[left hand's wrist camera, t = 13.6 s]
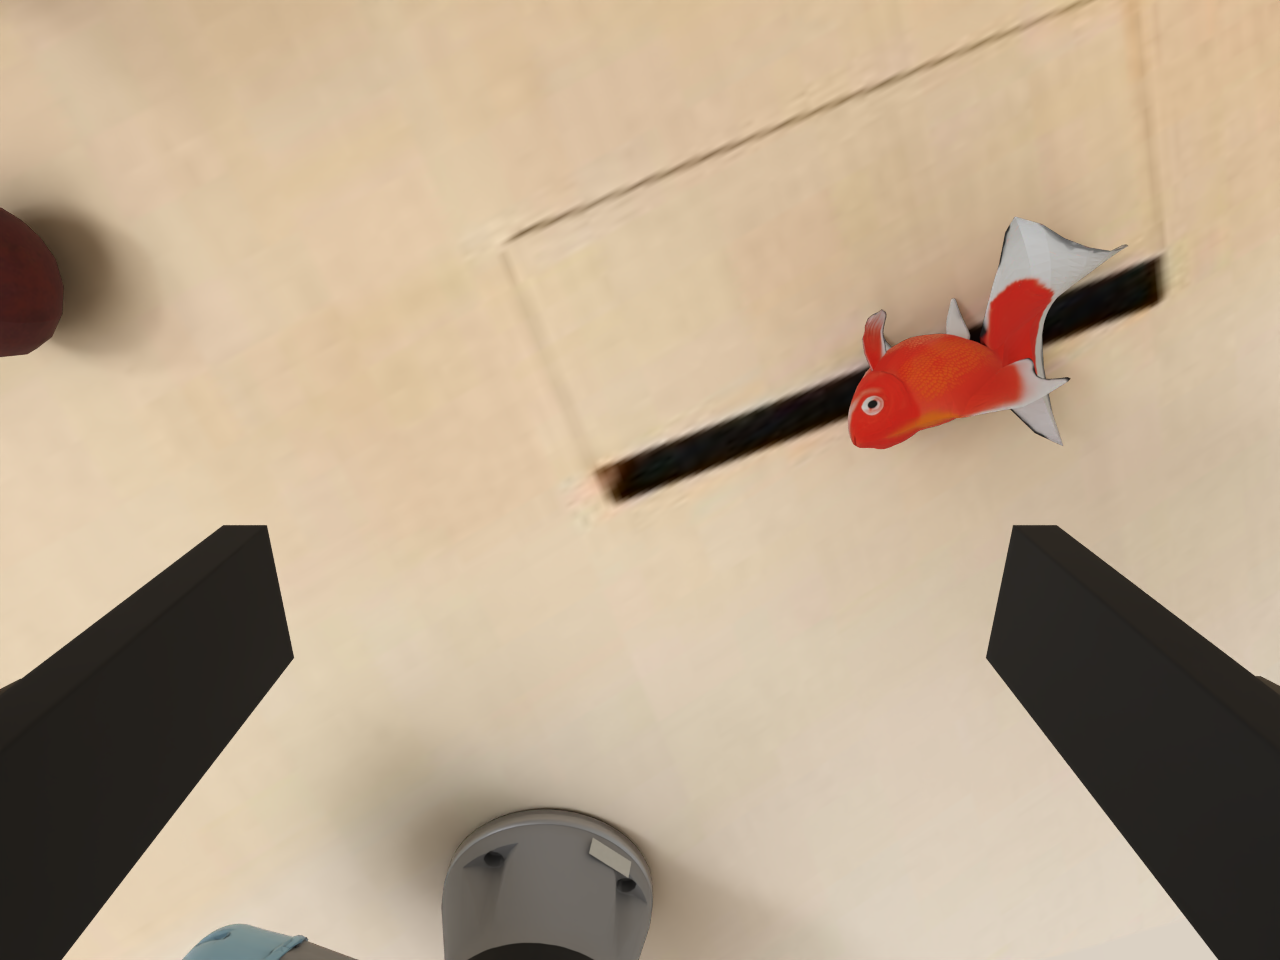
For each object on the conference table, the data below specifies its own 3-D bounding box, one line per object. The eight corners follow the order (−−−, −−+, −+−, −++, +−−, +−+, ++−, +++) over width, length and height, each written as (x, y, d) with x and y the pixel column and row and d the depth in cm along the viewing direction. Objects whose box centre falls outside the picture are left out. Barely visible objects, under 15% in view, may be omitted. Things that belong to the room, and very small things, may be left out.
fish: (788, 250, 32) (966, 326, 25) (1027, 158, 37) (1234, 200, 30) (789, 438, 39) (930, 540, 32) (991, 340, 44) (1153, 410, 37)
